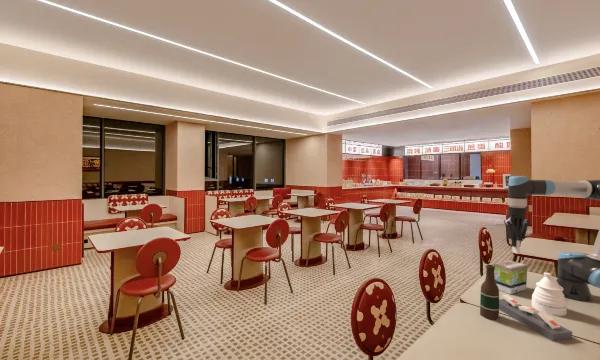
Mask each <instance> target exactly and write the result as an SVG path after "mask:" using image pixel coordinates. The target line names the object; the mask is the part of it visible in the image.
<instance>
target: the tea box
mask: <svg viewBox="0 0 600 360" xmlns="http://www.w3.org/2000/svg"><path fill="white" fill-rule="evenodd" d="M493 266H495V269H494V275H495V283H496V285H497V286H498V289H499V292H500V291H501V292H503V293H505V294H508V295H513V294H515V293H519V292H523V291H526V290H527V281H528V264H524V263H522V262H517V261H513V260H511V259H507V260H505V261H504V260H503V261H498V262H495V263H493Z"/></svg>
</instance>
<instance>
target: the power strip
mask: <svg viewBox="0 0 600 360" xmlns="http://www.w3.org/2000/svg"><path fill="white" fill-rule="evenodd" d="M520 306H523V305H521V304H520ZM499 311H501V312H503V313H505V314H506V315H508V316H509V317H511V318H513V319H515V320H516V321H518V322H520V323H522V324H523V325H525V326H526V327H528V328H530V329H531V330H534V331H535V332H537V333H539V334H540V335H542V336H544V337H545V338H547V339H549V340H550V341H552V342H557V341H563V340H572V339H573V331H571V330H570V329H569V328H568V329H567V328H566V327H564V326H562V325H560V324H558V325H559V326H560V328H559V329H552V328H551V327H550V326H549V325H548V324H547V323H546V322H545V321H544V320H543V319H542V318H541V317H540V316H539V315H538V313H534V314H533V313H530V312H527V311H523V310H520V309H519V307H518V306H515V307H514V306H513V305H511V304H510V303H509V302H508V301H506V300H505V299H504V298H499Z"/></svg>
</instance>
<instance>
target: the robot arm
mask: <svg viewBox="0 0 600 360" xmlns="http://www.w3.org/2000/svg"><path fill="white" fill-rule="evenodd" d="M507 186H508V187H507V191H508V192H507V195H508V197H507V214H508V217H507V219H506V220H505V219H504V221H503V223H504V225H505V229H506V230H505V231H506V234H507V235H506V237H507V239H509V240H511V252H512V253H514V254H517V255H519V254H520V251H521V250H520V249H521V244H522V242H523V241H524V240H525V239H526V234H527V230H528V226H529V224H530V220H528V219H526V215H527V212H528V211H527V209H528V208H527V207H528V196H550V195H557V196H559V195H560V196H573V197H579V198H580V199H581V198H582V199H589V200H595V201H600V179H592V180H589V179H586V180H584V179H582V180H581V179H580V181H574V180H573V181H571V180H570V181H568V180H550V179H531V178H530V179H529V178H528V176H527V175H526V176H525V175H510V176H509V178H508V183H507ZM557 257H558V258H557V278H556V281H557V282H558V284H559V286H561V287H563V291H562V292H563V294H564V297H565V299H566V298H567V299H571V300H576V301H582V302H584V301H585V302H588V301H592V292H591V290H590V287H589V285H591V286H593V287H594V288H598V289H600V228H599V229H598V232H597V236H596V238H595V241H594V243H593V246H592V250H591V252H590V253H588V254H587V253H582V252H575V251H572V252H571V251H561V252H559V253H558V256H557Z"/></svg>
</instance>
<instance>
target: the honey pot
mask: <svg viewBox="0 0 600 360" xmlns="http://www.w3.org/2000/svg"><path fill="white" fill-rule="evenodd" d="M556 280H557V278H555V277H554V276H553V275H551V273H550V272H543V277H542V278H541V279H540V281H537V282H536V283H535V285H536V287H535V288H534V291H533V293H532V295H531V307H532V308H533V309H536V310H539V312H546V313H547V314H548V315H551V316H557V317H558V316H559V317H563V316H567V311H568V306H567V305H568V303H567V300H566V297H564V294H563V292H562V291H563V287H561V286H559V284H558V282H557V281H556Z"/></svg>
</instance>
